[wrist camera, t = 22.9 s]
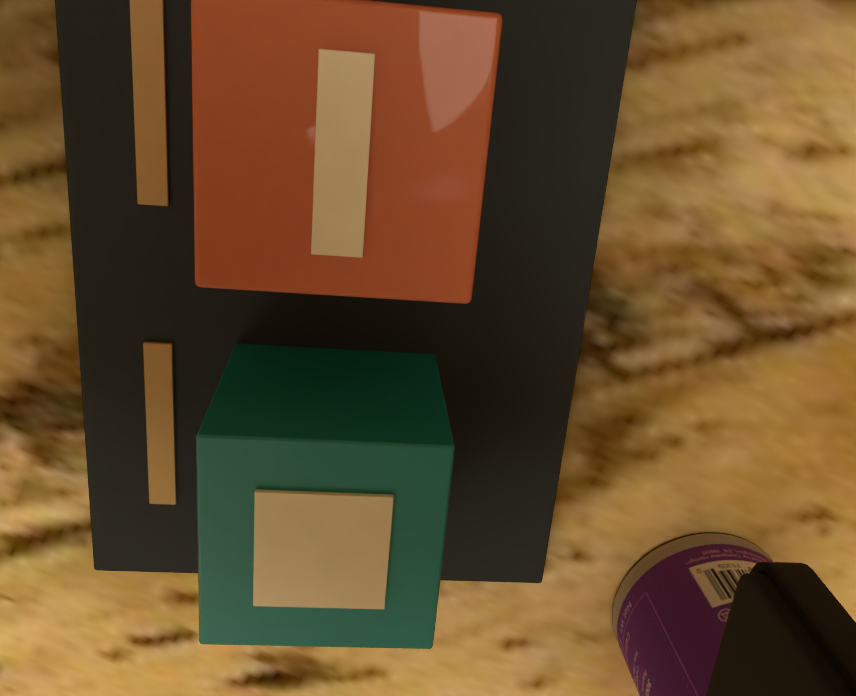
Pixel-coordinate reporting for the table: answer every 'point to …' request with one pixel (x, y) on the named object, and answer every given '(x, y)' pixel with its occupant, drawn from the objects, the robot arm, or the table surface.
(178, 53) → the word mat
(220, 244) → the orange cube
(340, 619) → the green cube
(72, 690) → the table surface
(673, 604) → the container
